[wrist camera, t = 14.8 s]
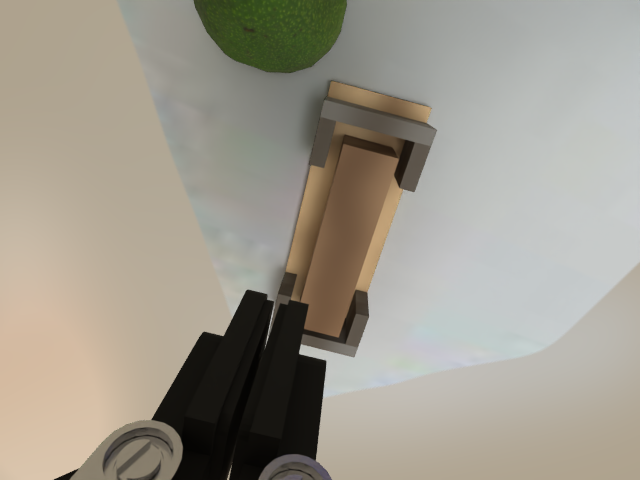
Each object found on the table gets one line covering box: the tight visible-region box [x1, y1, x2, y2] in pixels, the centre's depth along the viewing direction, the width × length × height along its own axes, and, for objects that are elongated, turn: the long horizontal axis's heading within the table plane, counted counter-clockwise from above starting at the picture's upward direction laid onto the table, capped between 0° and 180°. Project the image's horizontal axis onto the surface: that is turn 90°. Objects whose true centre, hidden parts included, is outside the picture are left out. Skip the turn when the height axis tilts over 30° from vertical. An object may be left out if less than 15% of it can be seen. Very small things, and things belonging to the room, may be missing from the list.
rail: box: [268, 81, 437, 357], centre depth 29 cm, size 7×20×4 cm, turn 166°
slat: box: [299, 134, 399, 338], centre depth 28 cm, size 4×14×4 cm, turn 166°
